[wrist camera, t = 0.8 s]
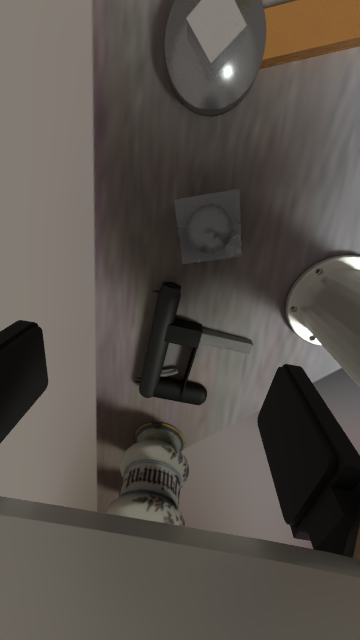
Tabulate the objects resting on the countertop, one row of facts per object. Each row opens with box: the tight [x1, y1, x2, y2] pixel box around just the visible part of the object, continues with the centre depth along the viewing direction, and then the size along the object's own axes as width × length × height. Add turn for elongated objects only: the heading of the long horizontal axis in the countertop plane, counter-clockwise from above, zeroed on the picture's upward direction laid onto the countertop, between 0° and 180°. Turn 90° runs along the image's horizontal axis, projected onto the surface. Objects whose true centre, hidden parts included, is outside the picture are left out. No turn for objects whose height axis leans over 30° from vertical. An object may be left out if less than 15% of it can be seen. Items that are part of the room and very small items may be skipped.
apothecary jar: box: [105, 423, 189, 526], centre depth 38 cm, size 12×12×18 cm
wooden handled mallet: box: [165, 0, 360, 116], centre depth 20 cm, size 22×9×5 cm, turn 98°
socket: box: [174, 189, 242, 264], centre depth 26 cm, size 6×6×8 cm
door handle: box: [135, 282, 253, 405], centre depth 36 cm, size 3×20×16 cm
